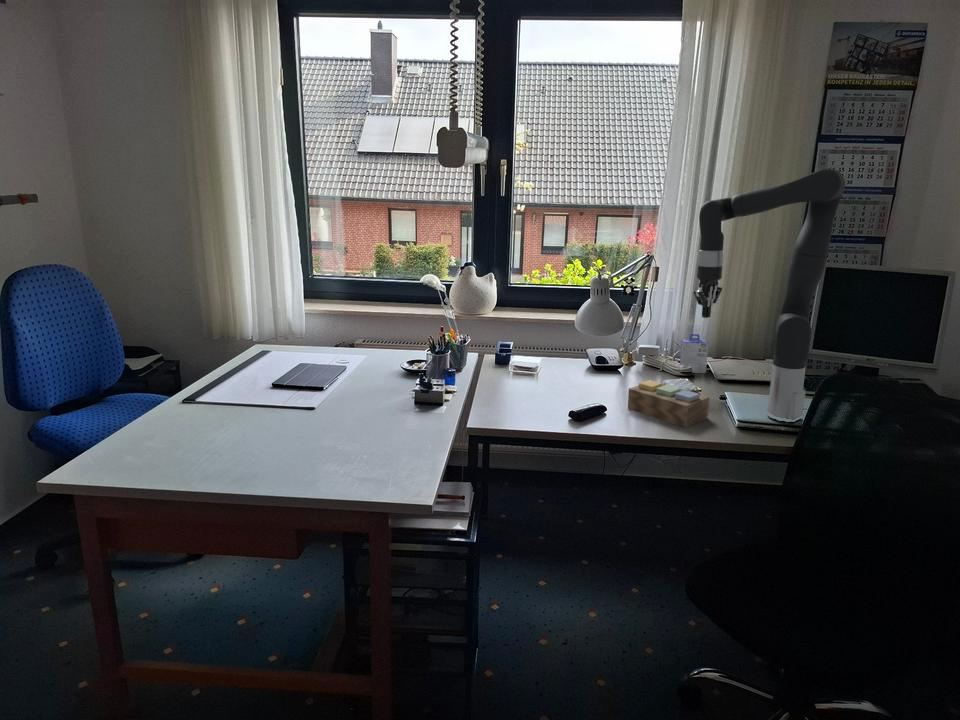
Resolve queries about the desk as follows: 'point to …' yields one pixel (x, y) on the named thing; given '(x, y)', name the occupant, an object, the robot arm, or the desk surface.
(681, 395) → the button slate
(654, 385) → the button ochre
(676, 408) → the control box
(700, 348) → the ink cartridge box
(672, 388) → the button sage
